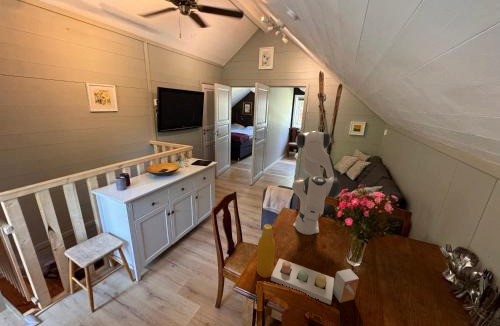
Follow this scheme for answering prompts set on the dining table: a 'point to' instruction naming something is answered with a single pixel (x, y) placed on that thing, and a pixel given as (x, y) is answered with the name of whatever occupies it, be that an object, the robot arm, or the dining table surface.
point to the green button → (302, 276)
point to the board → (303, 286)
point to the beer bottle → (266, 252)
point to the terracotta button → (286, 268)
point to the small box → (345, 285)
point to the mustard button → (320, 281)
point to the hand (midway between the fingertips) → (310, 230)
